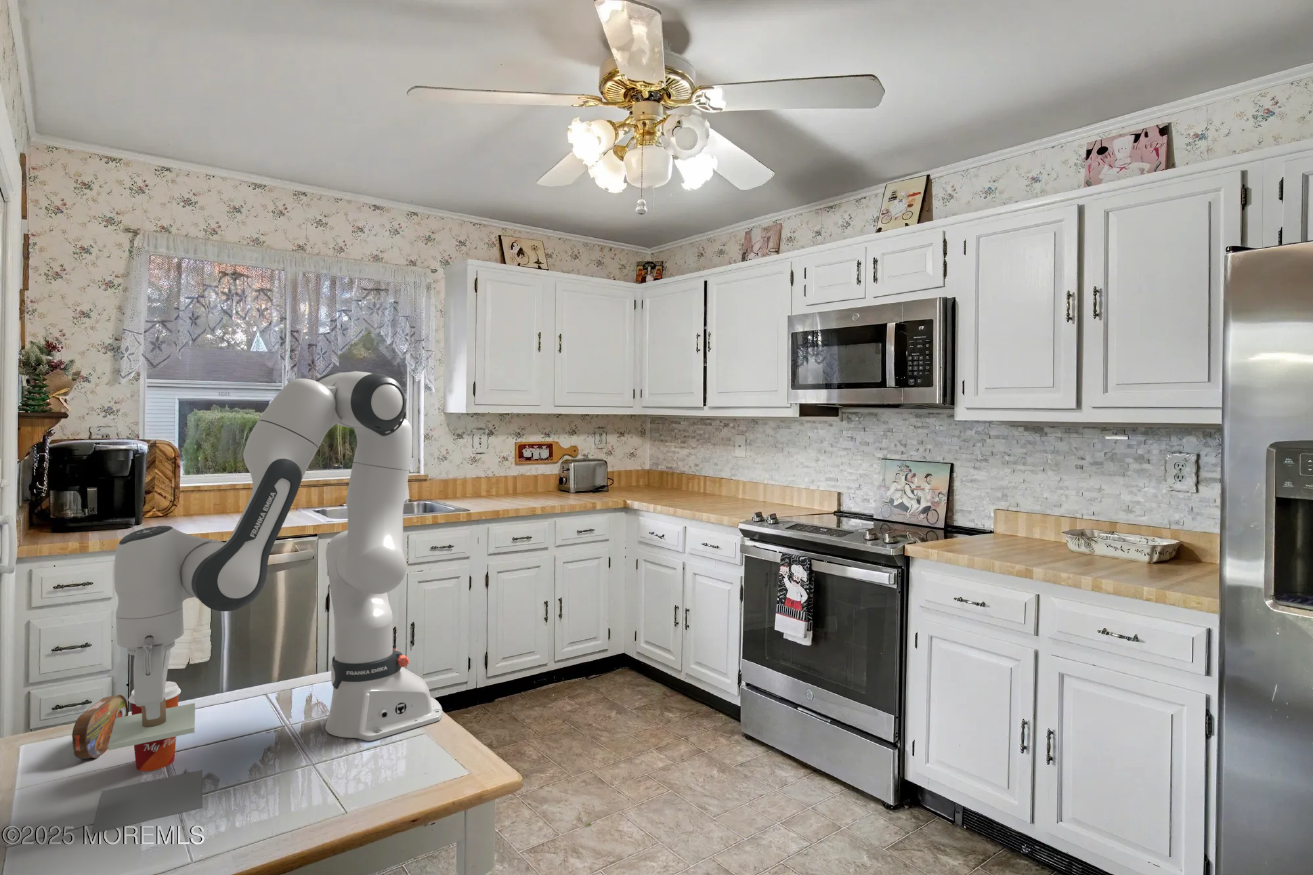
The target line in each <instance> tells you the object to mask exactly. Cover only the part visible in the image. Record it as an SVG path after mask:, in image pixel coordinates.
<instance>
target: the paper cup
mask: <svg viewBox="0 0 1313 875" xmlns="http://www.w3.org/2000/svg"><path fill="white" fill-rule="evenodd" d="M181 692H182V690H181V688H180V687H179V685H178V684H177V682H175V681H167V680H166V686H165V693H164V698H165V701H166V708H171V707H177V706H179V695H180V694H181ZM127 702H129V703H130V708H131V709H130V710H131V711H130V712H131V715H135V714H140V713H142V706H136V704H135V700H134V689H133V690H132V691H131V692H130V696H129V697H128V701H127ZM176 744H177V736H175V737H170V738H166V739H161V740H156V741H151V742H146V743H142V744H137V745H133V748H134V758H135V767H136V770H137V771H140V772H149V771H155V770H160V769H164V768H166V767H167V766H170V765H171V764H173V763H174V762H175V755H176Z"/></svg>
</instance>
